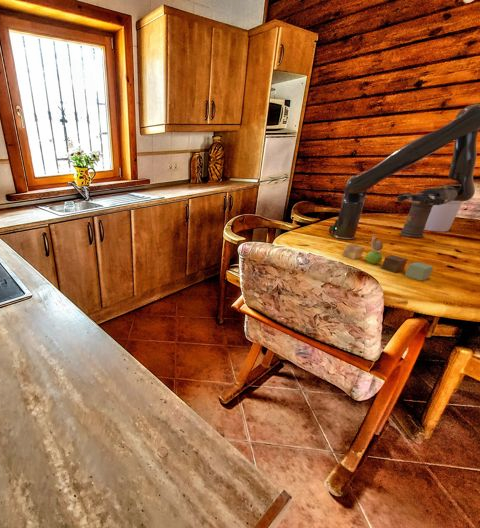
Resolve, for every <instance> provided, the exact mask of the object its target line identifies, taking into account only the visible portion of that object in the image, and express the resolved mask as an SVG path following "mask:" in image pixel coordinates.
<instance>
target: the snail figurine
mask: <svg viewBox="0 0 480 528" xmlns="http://www.w3.org/2000/svg"><path fill="white" fill-rule="evenodd" d="M376 236H377V234H375V233H374V234H372V238H371V243H370V244H371V245H370V247H371V248H370V249H371V250H372V251H369V252H368V253H366V255H365V260H366V262H367V263H369V264H373V265H375V264H378V263H380V262H381V261H382V260H383V255H382V253H381V252H382V251H381V250H382V249H383V248H384V243H383V242H382V241H381V240H377V237H376Z"/></svg>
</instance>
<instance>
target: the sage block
mask: <svg viewBox="0 0 480 528" xmlns="http://www.w3.org/2000/svg"><path fill="white" fill-rule="evenodd" d="M433 269H434V265H430V264H426V263H423V262H419V261H416V262H412V263H409V264H408V266H407V268H406V271H405V274H404V276H405V277H408V278H411V279H413V280H417V281H420V282H422V281H425V280H427V279H429V278H430V276H431V274H432V272H433Z"/></svg>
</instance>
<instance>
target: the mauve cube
mask: <svg viewBox="0 0 480 528" xmlns="http://www.w3.org/2000/svg"><path fill="white" fill-rule="evenodd" d="M364 249H365V247H364V246H362V245H358V244H354V243H351V244H347V245H344V249H343V252H342V257H345V258H347V259H351V260H356V259H360V258H362V256H363V253H364Z"/></svg>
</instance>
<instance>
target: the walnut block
mask: <svg viewBox="0 0 480 528" xmlns="http://www.w3.org/2000/svg"><path fill="white" fill-rule="evenodd" d="M408 260H409V259H408V258H404V257H402V256H401V257H400V256H397V255H392V254H391V255H389V256H385V257H384V260H383V263H382V266H381V269H382V270H385V271H389V272H392V273H394V274H395V273H396V274H397V273H399V272H404V270H405V268H406V264H407V263H408Z"/></svg>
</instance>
